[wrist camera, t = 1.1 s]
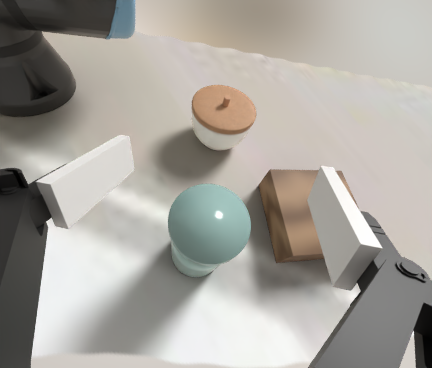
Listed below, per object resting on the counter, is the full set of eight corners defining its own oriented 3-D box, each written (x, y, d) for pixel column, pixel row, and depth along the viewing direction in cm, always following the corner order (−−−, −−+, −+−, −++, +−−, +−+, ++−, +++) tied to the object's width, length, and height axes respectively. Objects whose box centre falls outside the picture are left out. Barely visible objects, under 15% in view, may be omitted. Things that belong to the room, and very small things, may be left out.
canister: (169, 225, 31) (168, 183, 20) (220, 223, 32) (243, 183, 22) (168, 282, 27) (167, 267, 17) (226, 277, 28) (258, 260, 18)
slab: (258, 185, 37) (269, 169, 33) (323, 185, 40) (341, 170, 35) (276, 262, 31) (293, 255, 26) (351, 256, 33) (377, 249, 29)
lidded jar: (228, 170, 37) (244, 133, 29) (177, 142, 38) (179, 99, 31) (251, 134, 43) (269, 95, 35) (205, 110, 44) (213, 67, 36)
